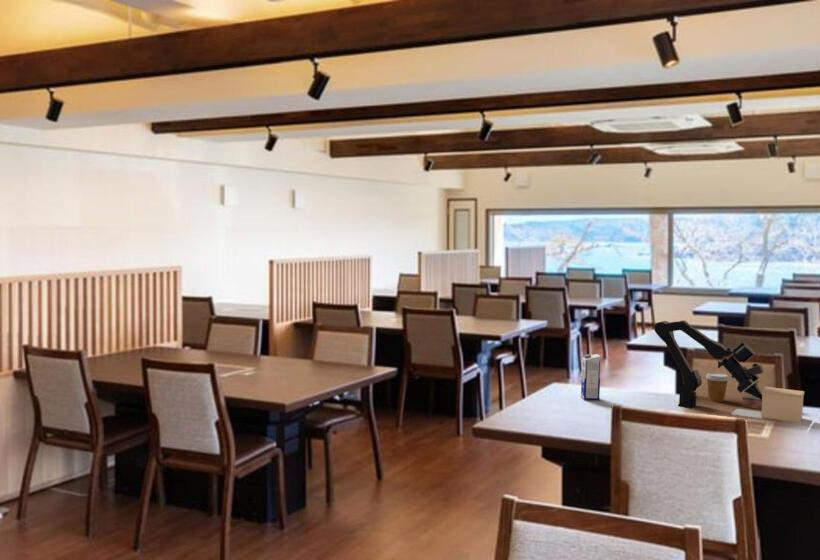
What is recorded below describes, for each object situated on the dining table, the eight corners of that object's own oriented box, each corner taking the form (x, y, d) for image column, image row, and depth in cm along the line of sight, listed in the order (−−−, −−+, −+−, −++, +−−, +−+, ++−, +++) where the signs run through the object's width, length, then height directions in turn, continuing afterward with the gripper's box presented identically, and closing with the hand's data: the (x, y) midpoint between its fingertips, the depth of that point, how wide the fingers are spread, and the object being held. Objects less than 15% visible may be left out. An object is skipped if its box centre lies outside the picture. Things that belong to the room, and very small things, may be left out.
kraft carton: (760, 417, 316) (762, 390, 316) (764, 413, 324) (765, 386, 323) (799, 423, 308) (801, 395, 308) (802, 418, 316) (804, 391, 316)
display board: (730, 415, 321) (730, 414, 321) (736, 409, 332) (736, 408, 332) (795, 424, 308) (795, 423, 308) (799, 418, 319) (799, 416, 319)
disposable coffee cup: (729, 400, 350) (730, 374, 349) (725, 404, 342) (726, 377, 341) (707, 398, 355) (708, 372, 354) (702, 401, 347) (703, 375, 346)
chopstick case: (741, 407, 336) (742, 397, 336) (743, 405, 341) (744, 395, 340) (793, 414, 325) (794, 403, 325) (795, 412, 329) (795, 401, 329)
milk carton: (599, 400, 343) (601, 355, 342) (584, 400, 343) (585, 355, 342) (595, 397, 350) (597, 353, 349) (580, 396, 350) (582, 352, 349)
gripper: (747, 360, 314) (775, 390, 308) (755, 354, 329) (782, 383, 324) (725, 377, 319) (753, 407, 313) (734, 371, 334) (761, 399, 329)
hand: (763, 399), depth 320 cm, fingers closed, pressing on kraft carton
